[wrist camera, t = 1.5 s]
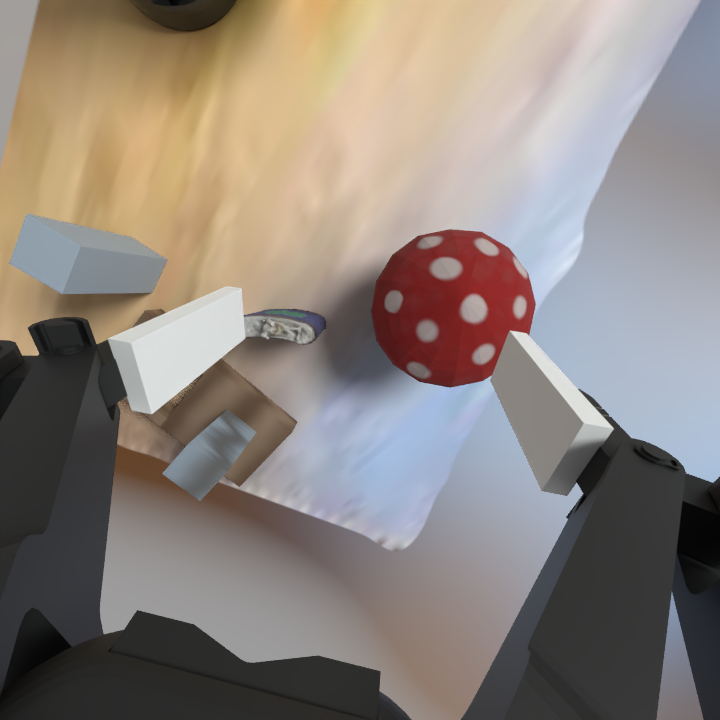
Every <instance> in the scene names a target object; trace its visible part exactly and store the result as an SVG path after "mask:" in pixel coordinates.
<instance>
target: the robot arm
mask: <svg viewBox="0 0 720 720" xmlns="http://www.w3.org/2000/svg"><path fill="white" fill-rule="evenodd" d="M131 1H132V2H133V4H134V5H135V6H136V7H137V8H138V9H139V10H140V11H142V12H143V13H144V14H145V15H146V16H148V17H149V18H151V19H152V20H154V21H155V22H157V23H159V24H161V25H164V26H166V27H169V28H173V29H178V30H195V29H200V28H203V27H206V26H209V25H211V24H213V23H214V22H216V21H217V20H219V19H220V18H221V17H223V16H224V15H225V14H226V13H227V12H228V11H229V10H230V8H231V7H232V6H233V4H234V3H235V1H236V0H131ZM28 330H29V332H30V334H31V336H32V338H33V341H34V343H35V345H36V347H37V349H38V351H39V353H40V354H39V355H38V356H22V354H21V352H20V350H19V348H18V346H17V345H16V343H15V342H12V341H5V340H0V720H411V719H410V718H409V716H408V715H407V714H406V713H405V712H404V711H403V710H402V709H401V708H400V707H399V706H398V705H397V704H396V703H394V702H393V701H392V700H391V699H390V698H388V697H387V696H386V695H384V694H383V693H381V692H380V691H379V687H380V671H377V670H373V669H369V668H365V667H361V666H356V665H353V664H349V663H345V662H341V661H337V660H333V659H329V658H325V657H321V656H311V657H301V658H292V659H284V660H274V661H265V662H256V663H247V662H245V661H243V660H241V659H240V658H238V657H237V656H236V655H234V654H233V653H231V652H230V651H229V650H227V649H226V648H225V647H223V646H222V645H221V644H219V643H218V642H217V641H215V640H214V639H213V638H211V637H210V636H209V635H207V634H206V633H205V632H203V631H202V630H201V629H199V628H198V627H197V626H195V625H194V624H190V623H186V622H182V621H178V620H174V619H170V618H166V617H162V616H158V615H154V614H150V613H146V612H142V611H138V610H137V612H136V613H135V614H134V616H133V617H132V619H131V620H130V622H129V623H128V625H127V626H126V628H125V629H124V630H121V631H117V632H113V633H108V634H103V630H102V624H101V619H100V598H101V589H102V580H103V570H104V561H105V550H106V541H107V531H108V523H109V514H110V504H111V494H112V485H113V476H114V467H115V457H116V448H117V438H118V429H119V420H120V409H119V406H118V404H117V402H119V401H120V400H122V399H123V398H125V397H126V396H127V399H128V402H129V405H130V408H131V410H132V411H137V412H142V413H147V414H153V413H154V412H155V411H157V410H158V409H159V408H160V407H162V406H163V405H164V404H165V403H166V402H168V401H169V400H170V399H171V398H173V397H174V396H175V395H176V394H178V393H179V392H180V391H181V390H182V389H184V388H185V387H186V386H187V385H189V384H190V383H191V382H192V381H193V380H195V379H196V378H197V377H198V376H200V375H201V374H202V373H203V372H205V371H206V370H207V369H208V368H209V367H211V366H212V365H213V364H214V363H216V362H217V361H218V360H219V359H221V358H222V357H223V356H224V355H225V354H227V353H228V352H229V351H230V350H232V349H233V348H234V347H235V346H236V345H238V344H239V343H240V342H241V341H243V340H244V339H245V327H244V315H243V303H242V291H241V288H237V287H230V286H226V287H223V288H221V289H219V290H216V291H214V292H212V293H210V294H207V295H205V296H203V297H201V298H198V299H196V300H194V301H192V302H189V303H187V304H185V305H183V306H180V307H178V308H176V309H174V310H171V311H169V312H167V313H165V314H162V315H160V316H158V317H156V318H153V319H151V320H149V321H147V322H144V323H142V324H140V325H138V326H135V327H133V328H131V329H129V330H126V331H124V332H122V333H119V334H117V335H115V336H113V337H110V338H108V340H106V341H104V342H102V343H99V344H97V345H96V342H95V339H94V336H93V334H92V331H91V328H90V325H89V322H88V320H86V319H84V318H77V317H63V318H54V319H49V320H44V321H40V322H38V323H35V324H32V325H31V326H30V327H28ZM490 381H491V383H492V385H493V387H494V389H495V391H496V393H497V396H498V398H499V400H500V402H501V404H502V406H503V409H504V411H505V413H506V415H507V417H508V419H509V422H510V423H511V426H512V428H513V430H514V432H515V434H516V437H517V439H518V441H519V443H520V445H521V447H522V449H523V452H524V454H525V456H526V458H527V460H528V462H529V464H530V467H531V469H532V471H533V473H534V475H535V477H536V479H537V481H538V484H539V486H540V488H541V490H542V491H545V492H550V493H555V494H560V495H565V496H567V495H568V494H569V493H570V491H571V490H572V488H573V487H574V485H575V484H576V482H577V483H578V485H579V487H580V488H581V490H582V492H583V493H584V494H583V495H582V496H581V498H580V499H579V501H578V502H577V503H576V505H575V506H574V507H573V509H572V510H571V511H570V513H569V514H568V516H567V517H566V518H568V521H567V523H566V525H565V527H564V528H563V530H562V532H561V534H560V536H559V538H558V540H557V542H556V544H555V546H554V547H553V549H552V552H551V553H550V555H549V557H548V559H547V561H546V563H545V565H544V567H543V568H542V570H541V572H540V574H539V576H538V578H537V580H536V582H535V584H534V585H533V587H532V589H531V591H530V593H529V595H528V597H527V599H526V601H525V603H524V605H523V606H522V608H521V610H520V612H519V614H518V616H517V618H516V620H515V622H514V623H513V626H512V627H511V629H510V631H509V633H508V635H507V637H506V639H505V641H504V642H503V644H502V646H501V648H500V650H499V652H498V654H497V656H496V658H495V660H494V661H493V663H492V665H491V667H490V669H489V671H488V673H487V675H486V677H485V679H484V680H483V682H482V684H481V686H480V688H479V690H478V692H477V694H476V695H475V697H474V699H473V701H472V703H471V705H470V706H469V708H468V710H467V711H466V713H465V714H464V716H463V717H462V719H461V720H656V718H657V709H658V700H659V692H660V684H661V675H662V667H663V659H664V651H665V642H666V634H667V625H668V617H669V609H670V600H671V592H672V593H673V596H674V601H675V605H676V609H677V613H678V617H679V621H680V625H681V629H682V633H683V637H684V641H685V645H686V650H687V653H688V657H689V662H690V666H691V670H692V674H693V678H694V682H695V686H696V690H697V694H698V698H699V702H700V706H701V710H702V714H703V719H704V720H720V477H719V478H718V479H717V480H716V481H715V482H714V483H711V482H709V481H706V480H703V479H700V478H697V477H695V476H692V475H689V474H686V472H685V469H684V467H683V465H681V463H680V462H679V461H678V460H677V459H676V458H674V457H673V456H672V455H670V454H669V453H667V452H666V451H664V450H662V449H660V448H658V447H657V446H655V445H652V444H650V443H647V442H645V441H642V440H637V439H632V438H631V437H630V436H629V435H628V434H627V433H626V432H625V431H624V430H623V429H622V428H621V427H620V426H619V425H618V424H617V423H616V422H615V421H614V420H613V419H612V417H609V414H608V413H607V412H606V411H605V410H604V409H602V407H601V406H600V405H599V404H598V403H597V402H596V401H595V400H594V399H593V398H592V397H591V396H589V395H588V394H586V393H585V392H583V391H581V390H580V389H577V388H576V387H575V386H574V385H573V383H571V381H570V380H569V379H568V378H567V377H566V376H565V375H564V374H563V373H562V371H561V370H560V369H559V368H558V367H557V366H556V365H555V364H554V363H553V362H552V361H551V359H550V358H549V357H548V356H547V355H546V354H545V353H544V352H543V351H542V350H541V349H540V347H539V346H538V345H537V344H536V343H535V342H534V341H533V340H532V339H531V338H530V337H529V336H528V334H527V333H522V332H516V331H509V333H508V336H507V338H506V341H505V343H504V346H503V348H502V351H501V354H500V356H499V359H498V361H497V364H496V366H495V369H494V372H493V374H492V377H491V379H490Z"/></svg>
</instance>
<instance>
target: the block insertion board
mask: <svg viewBox="0 0 720 720" xmlns="http://www.w3.org/2000/svg"><path fill="white" fill-rule="evenodd" d="M162 314H165V312H164V311H163V310H162V309H158V310H147V311H144V313H143V314H142V315H141V317H140V318H139V319H138V321H137V322H136V323H135V325H134V326H133V327H135V326H138V325H140V324H142V323H144V322H147V321H149V320H151V319H153V318H156V317H158V316H160V315H162ZM202 374H204V375H203V376H202V377H201V378H200V379H199V381H198V382H197V383H196V384H195V385H194V387H193V388H192V389H191V390H190V391H189V393H188V394H187V395H186V396H185V397H184V399H183V400H182V401H181V402H180V403H179V405H178V406H177V407H176V406H175V405H174V404H173V403H171V402H170V401H168V402H166V403H165V404H164V405H163V406H162V407H160V408H159V409H158V410H157V411H155V412H154V413H153V414H147V413H142V412H141V413H142V414H143V415H145V416H146V417H147V418H149V419H150V420H151V421H153V422H154V423H155V424H157V425H158V426H159V427H161V428H162V429H163V430H165V431H166V432H167V433H169V434H170V435H171V436H173V437H174V438H175V439H177V440H178V441H179V442H181V443H182V444H183V445H184V446H186V447H185V448H184V449H183V450H182V452H181V453H180V454H179V455H178V456H177V457H176V458H175V460H174V461H173V462H172V463H171V464H170V465H169V466H168V468H167V469H166V470H165V471H164V472H163V473H162V474H163V475H165V476H166V477H167V478H169V479H170V480H171V481H173V482H174V483H176V484H177V485H178V486H180V487H181V488H183V489H184V490H186V491H187V492H188V493H189V494H191V495H192V496H194V497H195V498H196V499H198V500H199V501H200V500H201V499H202V498H203V497H204V496H205V495H206V494H207V493H208V492H209V491H210V490H211V489H212V487H214V485H215V484H216V483H217V482H218V481H219V480H220V479H221V478H222V477H223V476H226V477H227V478H228V479H230V480H231V481H232V482H234V483H235V484H236V485H238V486H239V487H240V486H241V485H242V484H243V483H244V482H245V480H246V479H247V478H248V477H249V476H250V475H251V474H252V473H253V472H254V471H255V470H256V469H257V468H258V467H259V466H260V465H261V464H262V463H263V462H264V461H265V460H266V459H267V458H268V457H269V455H270V454H271V453H272V452H273V451H274V450H275V449H276V448H277V447H278V446H279V445H280V444H281V443H282V442H283V441H284V440H285V439H286V438H287V437H288V436H289V435H290V434H291V433H292V431H293V430H294V428H295V426H296V424H297V421H296V420H295V419H293V418H292V417H291V416H290V415H289V414H287V413H286V412H285V411H284V410H282V409H281V408H280V407H279V406H278V405H276V404H275V403H274V402H273V401H272V400H270V399H269V398H268V397H267V396H266V395H264V394H263V393H262V392H261V391H259V390H258V389H257V388H256V387H255V386H253V385H252V384H251V383H250V382H249V381H247V380H246V379H245V378H244V377H243V376H241V375H240V374H239V373H238V372H237V371H235V370H234V369H233V368H232V367H230V366H229V365H228V364H227V363H226V362H224V361H223V360H222V359H219V360H218V361H217V362H216V363H214V364H213V365H212V366H211V367H209V368H208V369H207V370H206V371H205V372H203V373H202ZM123 400H125V401H126V402H127V403H129V402H128V399H127V396H126V397H125V398H123Z"/></svg>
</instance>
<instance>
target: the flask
mask: <svg viewBox="0 0 720 720" xmlns="http://www.w3.org/2000/svg"><path fill="white" fill-rule="evenodd" d="M244 327H245V338H251V337H264V338H266V339H269V338H278V339H284V340H289V341H292V342H295V343H298V344H303V345H306V344H310V343H312V342H313V341H315V340H316V339H317V337H318V336H319V335H320V334H321V332H322V331H323V330H324V329H326V320H325V318H324V317H323V316H321V315H319V314H317V313H313V312H309V311H304V310H297V309H270V310H264V311H261V312H257V313H252V314H248V315H244Z"/></svg>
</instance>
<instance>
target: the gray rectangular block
mask: <svg viewBox="0 0 720 720" xmlns="http://www.w3.org/2000/svg"><path fill="white" fill-rule="evenodd" d="M166 262H167V259H166V258H164V257H163V256H161V255H159V254H158V253H156V252H155V251H153V250H151V249H150V248H148V247H147V246H145V245H143V244H142V243H140V242H139V241H137V240H135V239H134V238H132V237H128V236H124V235H119V234H115V233H111V232H106V231H102V230H97V229H93V228H89V227H84V226H80V225H75V224H71V223H67V222H62V221H58V220H53V219H49V218H45V217H40V216H36V215H31V214H26V217H25V220H24V223H23V225H22V228H21V231H20V234H19V237H18V240H17V243H16V246H15V249H14V252H13V255H12V258H11V261H10V263H9V264H11V265H13V266H14V267H16V268H18V269H20V270H21V271H23V272H25V273H27V274H28V275H30V276H32V277H33V278H35V279H37V280H39V281H40V282H42V283H44V284H45V285H47V286H49V287H51V288H52V289H54V290H56V291H58V292H59V293H61V294H105V293H152V292H153V290H154V288H155V286H156V284H157V282H158V279H159V277H160V275H161V273H162V271H163V269H164V266H165V264H166Z"/></svg>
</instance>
